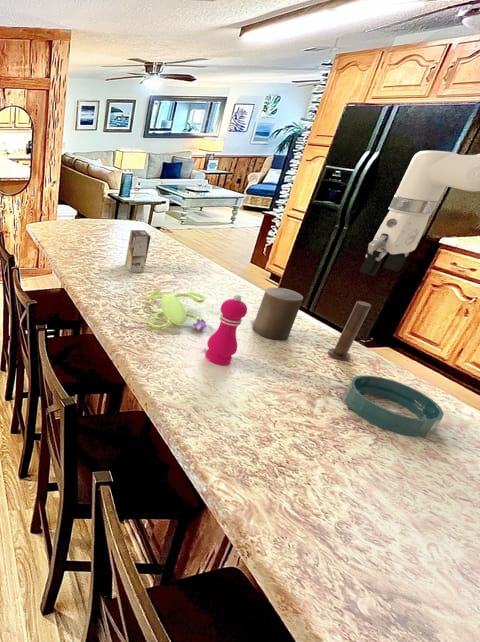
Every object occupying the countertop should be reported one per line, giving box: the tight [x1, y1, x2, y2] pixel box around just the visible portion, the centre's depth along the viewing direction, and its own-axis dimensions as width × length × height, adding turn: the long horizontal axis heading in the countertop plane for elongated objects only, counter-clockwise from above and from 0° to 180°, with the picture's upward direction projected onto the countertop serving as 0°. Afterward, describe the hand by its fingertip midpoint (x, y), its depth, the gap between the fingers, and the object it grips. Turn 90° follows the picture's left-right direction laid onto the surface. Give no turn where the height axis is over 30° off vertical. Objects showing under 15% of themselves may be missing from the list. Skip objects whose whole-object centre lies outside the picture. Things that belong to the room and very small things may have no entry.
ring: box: [341, 374, 445, 438], centre depth 88 cm, size 15×15×6 cm
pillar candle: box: [252, 286, 304, 341], centre depth 119 cm, size 10×10×15 cm
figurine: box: [146, 289, 208, 331], centre depth 130 cm, size 18×27×6 cm
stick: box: [327, 300, 372, 362], centre depth 108 cm, size 5×5×17 cm
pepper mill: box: [205, 294, 248, 366], centre depth 104 cm, size 7×7×20 cm
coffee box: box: [124, 229, 152, 273], centre depth 167 cm, size 9×6×16 cm
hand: (378, 271), depth 100 cm, fingers open, 9 cm apart
